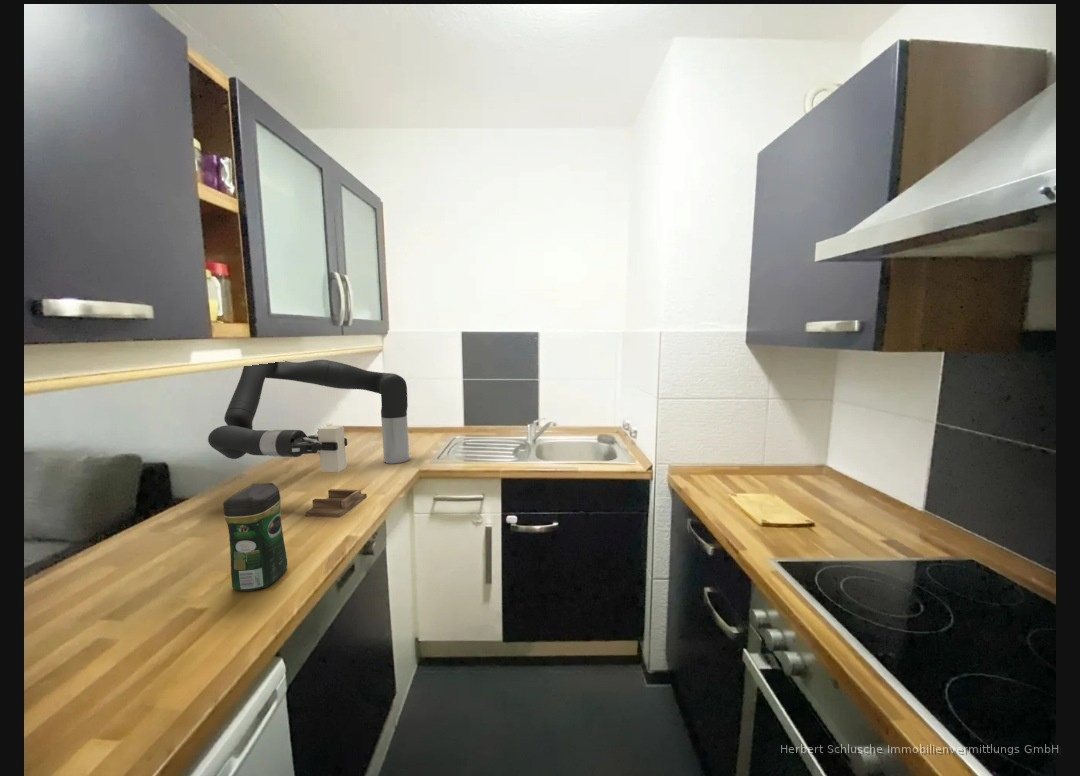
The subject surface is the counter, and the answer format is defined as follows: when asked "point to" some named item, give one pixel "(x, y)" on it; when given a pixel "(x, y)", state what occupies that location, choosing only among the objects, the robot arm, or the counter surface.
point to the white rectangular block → (332, 459)
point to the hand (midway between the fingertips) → (341, 444)
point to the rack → (336, 503)
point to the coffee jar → (255, 536)
